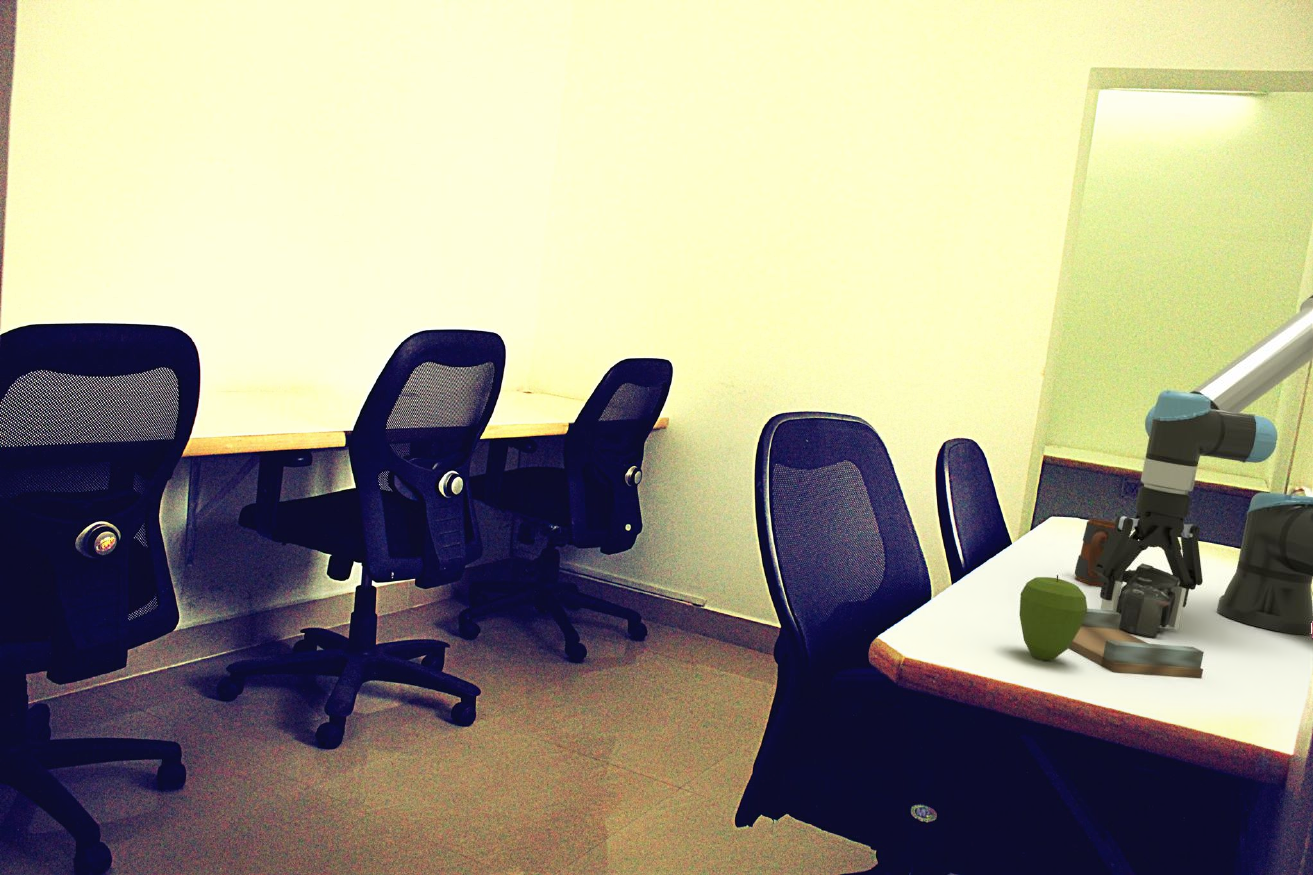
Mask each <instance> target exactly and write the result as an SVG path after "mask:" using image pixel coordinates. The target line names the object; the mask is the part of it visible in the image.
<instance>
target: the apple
mask: <svg viewBox="0 0 1313 875" xmlns="http://www.w3.org/2000/svg"><path fill="white" fill-rule="evenodd" d="M1019 599H1020V600H1019V619H1020V621H1019V622H1020V626H1021V630H1022V636H1023V641H1024V643H1025V645H1026V647H1027V649H1028V651H1029V653H1030V655H1031V657H1032V658H1034V659H1036V660H1040V661H1051V660H1054V659H1056V658H1058V657H1059V656H1060V655H1062V654H1063V653H1064V652H1066V651H1067V650H1068V649H1070V648H1069V646H1070V644H1071V643H1072V641H1073V639H1074V638H1075V636H1076V634H1077V633H1078V631H1079V629H1080V628H1081V625H1082V622H1083V620H1084V617H1085V615H1086V612H1087V608H1088V605H1087V604H1088V603H1087V597H1086V595H1085V594H1084V592H1083V591H1082V590H1081V589H1080V587H1079V586H1078V585H1076V584H1075V583H1072V582H1070V581H1067V580H1064V579H1061V578H1059V574H1057V575H1056V577H1050V576H1049V577H1048V576H1039V577H1038V576H1037V577H1036V576H1035V577H1034V578H1032V579H1030V580H1029V581H1027V582H1026V583H1025V585H1024V586H1023V589H1022V590H1021V591H1020V598H1019Z"/></svg>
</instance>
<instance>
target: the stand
mask: <svg viewBox="0 0 1313 875" xmlns="http://www.w3.org/2000/svg"><path fill="white" fill-rule="evenodd" d="M1100 609H1101V608H1100ZM1100 609H1098V608H1088V607H1087V612H1086V615H1085V617H1084V620H1083V622H1082V625H1081V628H1080V629H1079V631H1078V633H1077V634H1076V636H1075V638H1074V639H1073V641H1072V643H1071V644H1070V646H1069V648H1068V649H1069V650H1072V651H1074V652H1075V653H1077V654H1079V655H1081V656H1083V657H1084V658H1085V659H1086V658H1087V659H1089V660H1090V661H1092V662H1094V663H1096V664H1098V665H1099V666H1101V667H1103V668H1105V669H1107V670H1108V671H1111V672H1113V673H1124V674H1141V675H1150V676H1151V675H1152V676H1153V675H1154V676H1167V677H1169V676H1170V677H1184V678H1185V677H1186V678H1199V679H1201V678H1203V672H1204V669H1203V668H1201V667H1202V664H1203V657H1204V655H1205V654H1204V653H1205V651H1203V650H1201V649H1199V648H1196V647H1194V646H1185V645H1174V644H1172V645H1170V644H1160V643H1159V644H1157V643H1148V642H1146V641H1145V640H1143V639H1140V638H1139V637H1136V636H1134V635H1133V634H1131V633H1130V634H1129V632H1126V631H1123V630H1121V629H1119V625H1120V620H1121V615H1122V614H1119V613H1117V612H1115V611H1111V610H1100Z"/></svg>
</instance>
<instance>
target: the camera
mask: <svg viewBox="0 0 1313 875" xmlns="http://www.w3.org/2000/svg"><path fill="white" fill-rule="evenodd" d="M1122 581H1123V583H1126V584H1124V585H1123V586H1121V590H1120V595H1119V600H1118V605H1117V610H1116V612H1117V613H1119V614H1122V615H1121V620H1120V625H1119V630H1121V631H1124V632H1126V633H1128V634H1129V633H1130V634H1132V635H1133V634H1134V635H1137V636H1140V637H1144V636H1145V638H1151V639H1155V638H1156V637H1157V635H1158V632H1159V629H1160V627H1162V628H1166V627H1167V626H1168V625H1167V624H1168V621H1169V618H1170V615H1171V612H1172V608H1173V605H1174V601H1175V593H1173V592H1171V588H1173V587H1176V586H1178V585H1179V584H1180V579H1179V578H1177V577H1175V576H1173V574H1172V573H1169V572H1166V571H1164V570H1161V569H1159V568H1157V567H1156V568H1155V567H1154V566H1153V565H1150V564H1146V563H1143V562H1142V563H1141V564H1139V565H1138V566H1136V569H1133V570H1132V569H1128V570H1125V572H1124V573H1123V576H1122Z"/></svg>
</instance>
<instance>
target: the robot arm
mask: <svg viewBox="0 0 1313 875" xmlns="http://www.w3.org/2000/svg"><path fill="white" fill-rule="evenodd" d="M1312 360H1313V294H1312V295H1310V296H1309V297H1308V298H1307V299H1305V300H1304V301H1302V303H1301V305H1300V306H1299V312H1298V313H1296V314H1295V315H1294V316H1293V317H1291V318H1290V319H1288V320H1287V321H1286V322H1284V323H1282V324H1281V325H1280V326H1279V327H1277V328H1276V329H1274V330H1273V331H1272V332H1271V333H1269V334H1268V335H1267V336H1265V337H1264V338H1262V339H1261V340H1259V341H1258V342H1256V344H1254V345H1253V346H1251V347H1250V348H1249V349H1247V350H1246V351H1245V352H1243V353H1241V355H1239V356H1238V357H1237V358H1235V359H1234V360H1232V361H1231V362H1230V363H1228V364H1227V365H1225V366H1224V367H1223V368H1222V369H1220V370H1219V371H1217V372H1216V373H1215V374H1213V375H1212V376H1210V377H1209V378H1208V379H1207V380H1205V381H1204V382H1201V384H1200V385H1198V386H1197V387H1196V388H1194V389H1192V390H1191V391H1190V392H1187V391H1186V392H1185V391H1177V390H1169V389H1167V390H1166V389H1165V390H1163V391H1161V392H1160V393H1159V395H1158V397H1157V399H1156V400H1157V401H1156V403H1155V405H1153V407H1151V409H1150V410H1148V412H1147V415H1146V417H1145V419H1144V420H1145V421H1144V422H1145V423H1144V427H1145V432H1146V434H1147V436H1148V441H1147V447H1146V453H1145V457H1144V463H1143V467H1142V473H1141V477H1140V482H1141V483H1142V484H1143V485H1141V486H1140V487H1138V492H1137V497H1136V501H1135V502H1136V503H1135V508H1136V511H1137V512H1136V515H1135V516H1134V518H1132V517H1127V516H1124V515H1122V514H1121V515H1118V516H1117V517H1116V520H1115V523H1116V524H1115V529H1114V531H1113V533H1112V534H1111V536H1110V538H1109V540H1108V542H1107V543H1106V545H1105V547H1104V549H1103V551H1102V553H1101V554H1100V556H1099V558H1098V560H1097V562H1096V563H1095V565H1094V567H1093V571H1094V572H1096V573H1098V574H1099V575H1100V576H1102V577H1103V582H1102V587H1100V593H1099V596H1100V598H1101V599H1102V600H1101V605H1100V610H1111V611H1115V612H1116V610H1117V605H1118V600H1119V596H1120V592H1121V589H1122V585H1123V584H1122V583H1121V582H1119V581H1117V580H1118V579H1119V577H1120V576H1121V575H1122V574H1123V573H1124V572H1125V571H1127V569H1128V568H1129V567H1130V566H1131V565H1132V564H1133V563H1134V561H1135V560H1136V559H1137V558H1138V556H1139V555H1140V554H1142V552H1143V551H1146V550H1148V548H1160V549H1162V550H1163V552H1164V556H1165V558H1166V560H1167V563H1168V566H1169V568H1170V571H1171V574H1172V575H1173V576H1175V577H1177V578H1179V579H1180V584H1179V585H1178V586H1176V587H1173V588H1171V592H1173V593H1175V601H1174V605H1173V608H1172V612H1171V615H1170V618H1169V621H1168V624H1167V626H1168V627H1171V628H1173V629H1179V628H1180V622H1181V616H1182V612H1183V608H1186V605H1187V602H1188V598H1189V592H1190V590H1192V591H1194V590H1195V589H1196V588H1197V586H1201V585H1202V584H1203V582H1204V581H1203V573H1202V572H1203V571H1202V565H1201V562H1202V561H1201V556H1200V546H1199V537H1200V533H1201V527H1200V526H1198V525H1196V524H1191V523H1188V522H1184V519H1185V518H1187V516H1189V510H1190V505H1191V500H1192V497H1191V495H1190V494H1189V492H1192V491H1193V490H1194V487H1195V481H1196V476H1197V470H1198V466H1199V461H1200V457H1208V458H1209V457H1210V458H1216V459H1221V460H1223V459H1224V460H1229V461H1236V462H1239V463H1254V464H1255V463H1257V464H1258V463H1263V462H1264V461H1266V460H1268V459H1269V458H1270V457H1271V456H1272V455H1273V453H1274V451H1275V450H1276V447H1277V441H1278V431H1277V428H1276V426H1275V424H1274V423H1273V422H1272V421H1271V419H1269V418H1266V417H1263V416H1258V415H1255V414H1251V413H1243V412H1242V411H1244V409H1246V408H1247V407H1249V406H1250V405H1252V404H1253V403H1255V402H1256V401H1258V399H1260V398H1261V397H1263V396H1264V395H1265V394H1267V393H1268V392H1269V391H1271V390H1272V389H1274V388H1276V386H1278V385H1280V384H1281V383H1282V382H1283V381H1284V380H1286V379H1287V378H1288V377H1290V376H1291V375H1292V374H1294V373H1296V372H1297V371H1298V370H1299V369H1301V368H1302V367H1304V366H1305V365H1307V364H1308V363H1309V362H1311V361H1312ZM1241 412H1242V413H1241ZM1132 532H1133V533H1132ZM1179 537H1180V541H1179ZM1127 541H1128V542H1127ZM1126 542H1127V544H1126ZM1125 544H1126V545H1125ZM1239 551H1240V552H1239V557H1238V560H1237V565H1236V570H1235V573H1234V575H1233V577H1232V578H1231V580H1230V581H1229V584H1227V587H1226V589H1225V591H1224V594H1222V595H1221V596H1220V597H1219V600H1218V603H1217V607H1216V612H1218V613H1219V614H1221V615H1222V616H1225V617H1227V618H1229V619H1231V620H1234V621H1237V622H1241V623H1243V624H1247V625H1249V626H1253V627H1258V628H1262V629H1266V630H1271V631H1276V632H1281V633H1287V634H1293V635H1294V634H1295V635H1312V634H1311V623H1312V621H1313V597H1312V596H1313V595H1312V584H1313V496H1307V495H1297V494H1288V493H1287V494H1286V493H1276V492H1258V493H1256V494H1255V495H1254V496H1252V498H1251V501H1250V503H1249V509H1248V510H1247V511H1246V519H1245V523H1244V529H1243V533H1242V540H1241V545H1240V550H1239Z"/></svg>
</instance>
